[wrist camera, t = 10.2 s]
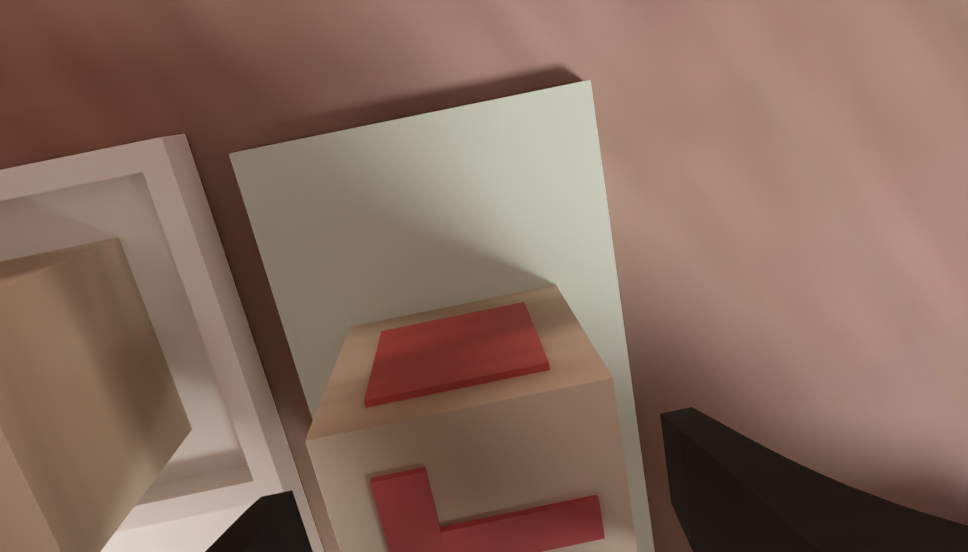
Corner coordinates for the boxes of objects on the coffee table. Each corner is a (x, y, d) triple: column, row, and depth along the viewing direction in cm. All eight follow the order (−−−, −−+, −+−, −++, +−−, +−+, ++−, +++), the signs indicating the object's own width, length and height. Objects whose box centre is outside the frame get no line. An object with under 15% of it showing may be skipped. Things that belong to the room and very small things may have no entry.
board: (584, 80, 14) (590, 79, 13) (652, 572, 18) (659, 588, 17) (237, 151, 14) (229, 153, 13) (385, 628, 18) (383, 646, 17)
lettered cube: (555, 279, 14) (614, 373, 10) (585, 463, 16) (649, 626, 11) (348, 321, 14) (300, 437, 9) (398, 501, 16) (379, 683, 11)
